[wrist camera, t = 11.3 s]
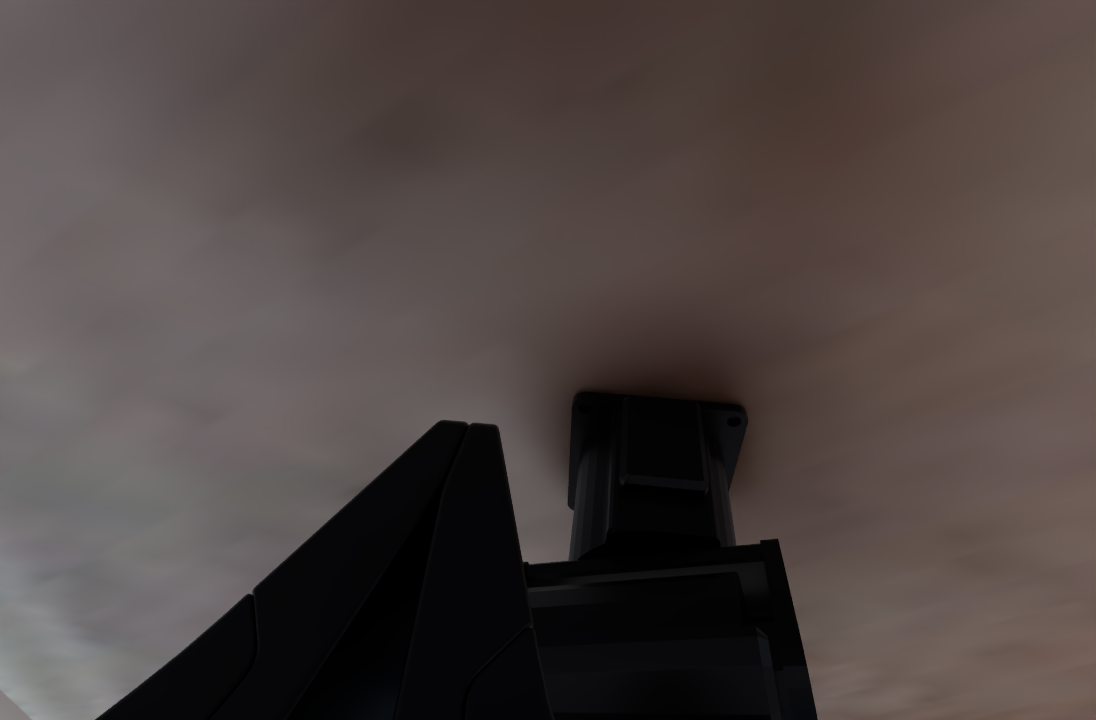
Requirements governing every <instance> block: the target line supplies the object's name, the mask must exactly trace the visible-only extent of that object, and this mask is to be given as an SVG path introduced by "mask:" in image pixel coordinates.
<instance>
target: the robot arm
mask: <svg viewBox="0 0 1096 720" xmlns="http://www.w3.org/2000/svg"><path fill="white" fill-rule="evenodd" d="M585 403H586V404H589V405H590V406H589V407H585V406H582V405H581V404H585ZM730 417H738V418H736V419H732V420H731V419H728V418H730ZM747 424H748V418H747V413H746V410H745V409H744V408H743V407H742V406H740V405H736V404H725V403H713V402H701V401H690V400H678V399H666V398H654V397H643V396H631V395H619V394H608V393H596V392H580V393H578V394H577V395H576V396H575V397H574V399H573V404H572V420H571V442H570V464H569V486H568V506H569V507H570V509H572V510H574V516H573V525H572V534H571V543H570V552H569V561H561V562H550V563H539V564H529V563H528V562H523V561H522V556H521V550H520V544H519V539H518V533H517V527H516V522H515V516H514V511H513V505H512V499H511V494H510V488H509V483H508V477H507V471H506V466H505V460H504V455H503V449H502V443H501V438H500V432H499V428H498V426H497V425H494V424H484V423H472V424H470V425H469V424H467V423H466V422H462V421H451V420H441V421H439V422H437V423H436V424H435V425H434V426H433V427H432V428H431V429H429V430H428V431H427V432H426V433H425V434H424V435H423V436H422V437H421V438H419V439H418V440H417V441H416V442H415V443H414V444H413V445H412V446H411V447H409V448H408V449H407V450H406V451H405V452H404V453H403V454H402V455H401V456H400V457H398V458H397V459H396V460H395V461H394V462H393V463H392V464H391V465H390V466H388V467H387V468H386V469H385V470H384V471H383V472H382V473H381V474H380V475H379V476H377V477H376V478H375V479H374V480H373V481H372V482H371V483H370V484H369V485H367V486H366V487H365V488H364V489H363V490H362V491H361V492H360V493H359V494H358V495H356V496H355V497H354V498H353V499H352V500H351V501H350V502H349V503H348V504H346V505H345V506H344V507H343V508H342V509H341V510H340V511H339V512H338V513H337V514H335V515H334V516H333V517H332V518H331V519H330V520H329V521H328V522H327V523H325V524H324V525H323V526H322V527H321V528H320V529H319V530H318V531H317V532H316V533H314V534H313V535H312V536H311V537H310V538H309V539H308V540H307V541H306V542H304V543H303V544H302V545H301V546H300V547H299V548H298V549H297V550H296V551H295V552H293V553H292V554H291V555H290V556H289V557H288V558H287V559H286V560H285V561H283V562H282V563H281V564H280V565H279V566H278V567H277V568H276V569H275V570H273V571H272V572H271V573H270V574H269V575H268V576H267V577H266V578H265V579H264V580H262V581H261V582H260V583H259V584H258V585H257V586H256V587H255V588H254V589H253V591H252V593H253V595H252V594H247V595H246V596H244V597H243V598H242V599H241V600H240V601H239V602H238V603H237V604H236V605H234V606H233V607H232V608H231V609H230V610H229V611H228V612H227V613H226V614H224V615H223V616H222V617H221V618H220V619H219V620H218V621H216V622H215V623H214V624H213V625H212V626H211V627H210V628H208V629H207V630H206V631H205V632H204V633H203V634H201V635H200V636H199V637H198V638H197V639H196V640H195V641H193V642H192V643H191V644H190V645H189V646H188V647H186V648H185V649H184V650H183V651H182V652H181V653H179V654H178V655H177V656H176V657H174V658H173V659H172V660H171V661H169V662H168V663H167V664H166V665H164V666H163V667H162V668H161V669H159V670H158V671H157V672H156V673H154V674H153V675H152V676H151V677H149V678H148V679H147V680H146V681H144V682H143V683H142V684H141V685H139V686H138V687H137V688H135V689H134V690H133V691H132V692H130V693H129V694H128V695H126V696H125V697H124V698H123V699H121V700H120V701H119V702H117V703H116V704H115V705H113V706H112V707H111V708H110V709H108V710H107V711H106V712H104V713H103V714H102V715H100V716H99V717H98V718H97V719H95V720H818V719H817V714H816V708H815V703H814V698H813V693H812V688H811V683H810V679H809V674H808V669H807V664H806V659H805V655H804V650H803V645H802V641H801V636H800V632H799V628H798V623H797V619H796V615H795V610H794V606H793V601H792V597H791V593H790V588H789V584H788V580H787V575H786V571H785V567H784V562H783V558H782V554H781V549H780V545H779V541H778V539H771V540H760V543H761V544H750V545H739V546H736V540H735V533H734V526H733V520H732V513H731V506H730V499H729V488H730V485H731V481H732V478H733V474H734V470H735V467H736V463H737V460H738V456H739V453H740V449H741V445H742V442H743V438H744V435H745V431H746V427H747Z"/></svg>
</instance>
